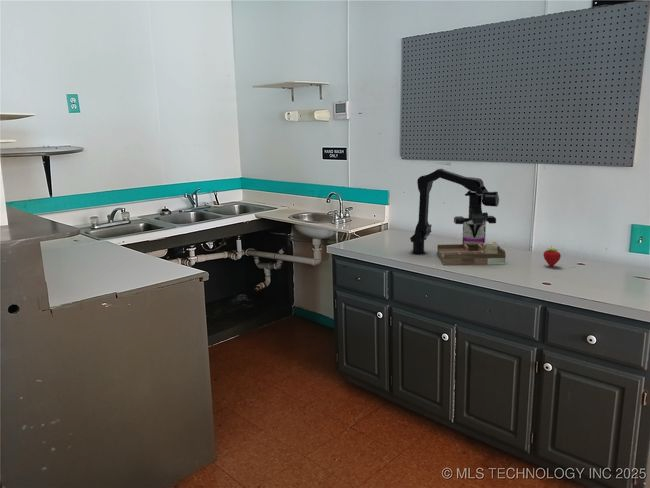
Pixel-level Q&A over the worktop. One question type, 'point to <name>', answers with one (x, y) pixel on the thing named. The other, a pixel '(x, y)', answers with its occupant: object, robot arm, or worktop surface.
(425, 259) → the worktop surface
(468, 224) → the robot arm
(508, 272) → the worktop surface
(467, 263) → the brown wooden tray
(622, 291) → the worktop surface
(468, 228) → the candy bar box
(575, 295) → the worktop surface
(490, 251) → the birch block
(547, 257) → the strawberry
